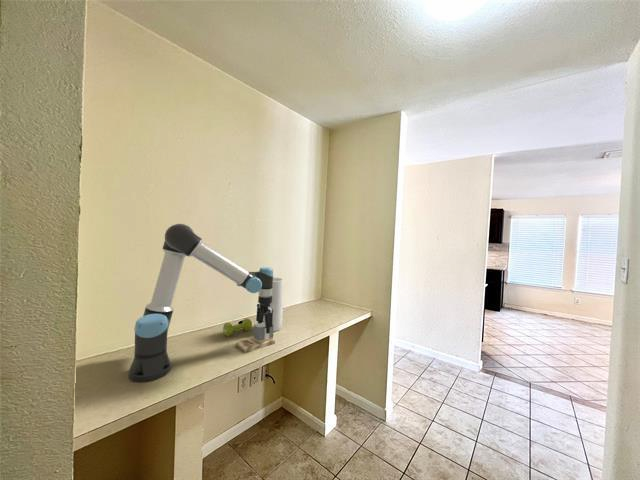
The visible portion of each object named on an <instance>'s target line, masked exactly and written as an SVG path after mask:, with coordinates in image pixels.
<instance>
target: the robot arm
mask: <svg viewBox="0 0 640 480" xmlns="http://www.w3.org/2000/svg"><path fill="white" fill-rule="evenodd" d="M162 251H163V252H164V255H163V259H162V262H161V265H160V270H159V272H158V277H157V280H156V283H155V287H154V289H153V294H152V298H151V301H150V302H149V303H148V304H146V305H145V308H144V312H143V316H141V317H139V318H138V319H137V320H136V321H135V326H134V356H133V359H132V362H131V364H130V367H129V370H128V379H129V380H130V381H133V382H137V383H145V382H150V381H154V380H157V379H159V378H162V377H164V376H166V375H167V374H169V372H170V371H171V369H172V362H171V359H170V357H169V353H168V351H167V350H168V349H167V348H168V333H169V329H170V324H171V322H172V321H171V320H172V316H173V313H174V310H175V308H174V307H173V305H172V304H173V300H174V297H175V293H176V290H177V287H178V286H177V285H178V283H179V279H180V275H181V272H182V267H183V265H184V261H185V257H193V258H195V259H197V260H198V261H200V262H201V263H203V264H205V265H206V266H208V267H210V268H211V269H213V270H214V271H216V272H218V273H220V274H221V275H222V276H224V277H226V278H228V279H229V280H231V281H233V282H234V283H236V286H237V287H242V288H244V289H245V290H246V291H247V292H248V293H251V294H257V293H258V297H257V299H258V301H257V303H256V319H255V320H256V322H257V324H260V323H262V322H263V318H264V316H265V325H266V327H265V331H264V339H269V333H270V327H272V325H273V309H271V308H270V303H272V296H271V295H272V290H273V289H272V288H273V277H274V269H273V268H272V267H265V266H264V267H260V268H259V271H248V270H246V269H245V268H244V267H242V266H240V265H239V264H237V263H235V262H234V261H233V260H231V259H230V258H228V257H226V256H225V255H224V254H222V253H220V252H219V251H217V250H216V249H214V248H213V247H211V246H210V245H208V244H206V243H205V242H204V241H203V238H202V237H200V236H199V235H197V234H196V233H195V232H194V230H193V228H191V227H190V226H189V225H187V224H185V223H176V224H172V225H171V226H169V227H168V228H167V229H166V230H165V233H164V242H163V245H162Z"/></svg>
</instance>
